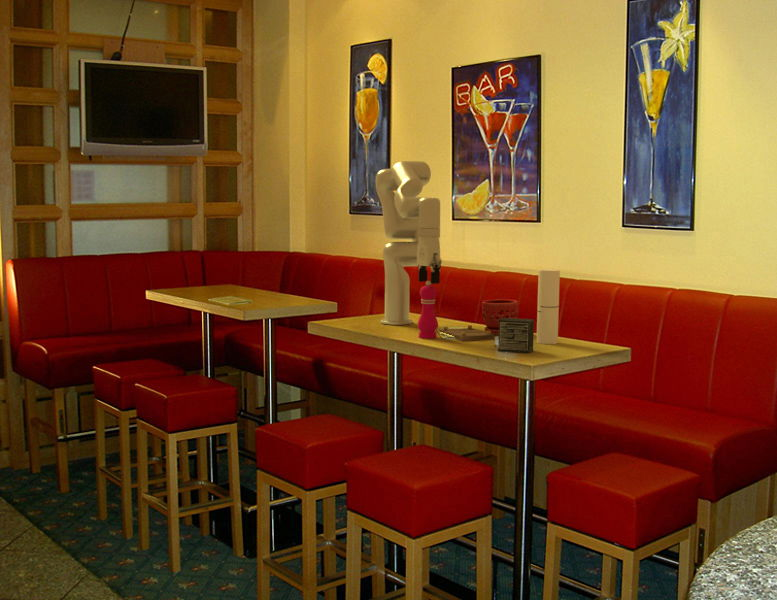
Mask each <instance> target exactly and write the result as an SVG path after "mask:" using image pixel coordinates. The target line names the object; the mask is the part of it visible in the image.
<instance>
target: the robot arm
mask: <svg viewBox="0 0 777 600" xmlns="http://www.w3.org/2000/svg"><path fill="white" fill-rule="evenodd" d="M431 173H432V172H431V167H430V166H429V164H428V163H427V162H425V161H419V160H418V161H417V160H415V161H414V160H412V161H411V160H404V161H403V160H401V161H398V162H396V163H395V164H394V165H393V166H392V168H383V169H381V170H379V171H378V172H377V173H376V176H375V190H376V193H377V196H378V199H379V201H380V204H381V208H382V220H383V228H384V229H383V230H384V234H385V236H386V238H387V239H390V240H411V241H391V242H388V243H386V244H385V245H384V246H383V248H382V257H383V265H384V266H383V267H384V318H382V319H380V324H383V325H391V326H403V325H404V326H405V325H406V326H407V325H412V324H413V323H414V320H413V319H412V318H410V287H411V285H410V284H411V283H410V281H411V280H410V276H409V274H408V272H407V271H406V270H405V268H406V267H417V270H418V282H420V283H422V282H423V283H424V282H425V283H426V282H427V281H428V270H427V269H428V267H429V266H430V271H431V272H430V282H431V285H432V284H433V285H435V284H440V279H441V277H440V272H441V268H442V267H441V266H442V262H443V261H442V260H443V259H441V246H440V245H441V243H440V238H441V201H440V199H439V198H436V197H422V196H421V197H420V196H419V195H420V194H421V193H422V191H423V187H425V186H426V185H427V184H429V182H430V179H431V175H432V174H431ZM404 267H405V268H404Z"/></svg>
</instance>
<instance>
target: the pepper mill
mask: <svg viewBox="0 0 777 600" xmlns="http://www.w3.org/2000/svg"><path fill="white" fill-rule="evenodd" d="M437 295H438V291H437V288H436V287H435V286H433V285H432V284H431V280H427V281H426V282H425V285H423V286H422V287H420V289H419V296H420V297H421V299H420V301H421V302H420V303H421V305H422V309H421V313H420V316H419V317H418V321H417V328H418V330H419V332H418V338H420V339H426V340H427V339H428V340H429V339H436V338H437V336H438V335H437V332H436V331H437V329H438V328H439V323H438V319H437V316H436V315H435V309H434V308H435V307H434V306H435V304H436V299H435V298H436V297H437Z"/></svg>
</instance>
